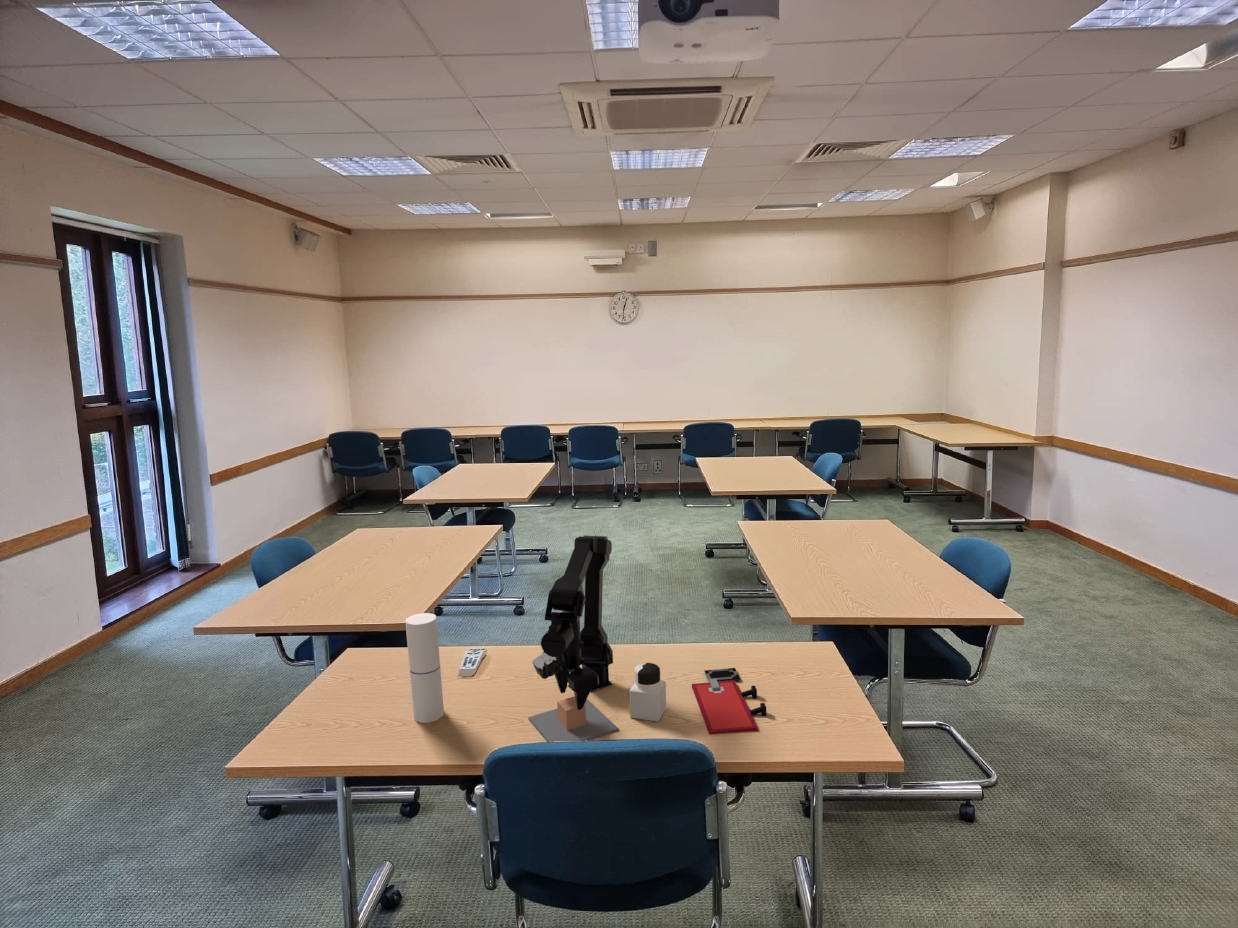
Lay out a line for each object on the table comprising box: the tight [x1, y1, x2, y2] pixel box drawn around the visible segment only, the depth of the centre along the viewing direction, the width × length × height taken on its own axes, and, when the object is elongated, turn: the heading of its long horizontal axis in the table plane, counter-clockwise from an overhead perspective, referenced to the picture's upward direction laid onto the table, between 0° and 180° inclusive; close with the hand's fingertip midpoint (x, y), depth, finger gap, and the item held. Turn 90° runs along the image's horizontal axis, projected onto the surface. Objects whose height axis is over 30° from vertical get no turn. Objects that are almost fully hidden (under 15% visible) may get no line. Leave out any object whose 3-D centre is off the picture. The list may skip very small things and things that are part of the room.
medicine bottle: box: [629, 662, 667, 723], centre depth 169 cm, size 7×7×12 cm
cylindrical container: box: [405, 612, 445, 724], centre depth 170 cm, size 7×7×25 cm
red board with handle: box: [691, 667, 767, 735], centre depth 175 cm, size 30×3×15 cm
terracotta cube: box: [556, 695, 586, 731], centre depth 165 cm, size 5×5×5 cm
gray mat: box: [527, 698, 620, 743], centre depth 166 cm, size 16×16×1 cm
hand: (571, 700), depth 165 cm, fingers open, 9 cm apart
